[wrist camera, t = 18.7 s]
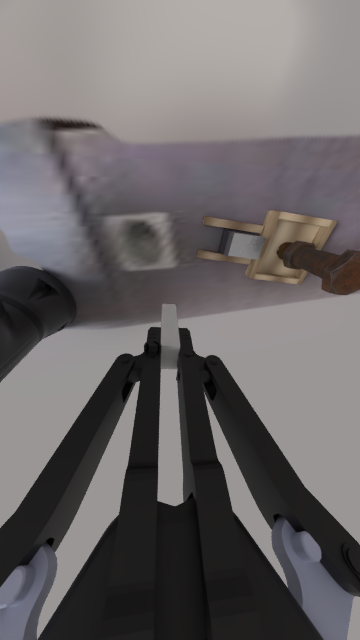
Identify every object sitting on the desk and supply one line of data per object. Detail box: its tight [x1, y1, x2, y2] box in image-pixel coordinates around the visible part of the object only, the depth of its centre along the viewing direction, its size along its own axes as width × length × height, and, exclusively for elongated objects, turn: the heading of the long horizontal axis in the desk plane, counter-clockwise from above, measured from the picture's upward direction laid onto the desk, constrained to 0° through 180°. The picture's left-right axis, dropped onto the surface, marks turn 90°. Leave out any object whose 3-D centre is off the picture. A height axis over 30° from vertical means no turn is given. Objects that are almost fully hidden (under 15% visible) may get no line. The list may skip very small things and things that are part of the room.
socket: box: [197, 210, 338, 285], centre depth 31 cm, size 23×12×2 cm, turn 82°
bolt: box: [276, 241, 360, 295], centre depth 26 cm, size 6×5×15 cm
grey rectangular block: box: [219, 230, 266, 260], centre depth 29 cm, size 6×4×4 cm, turn 82°
